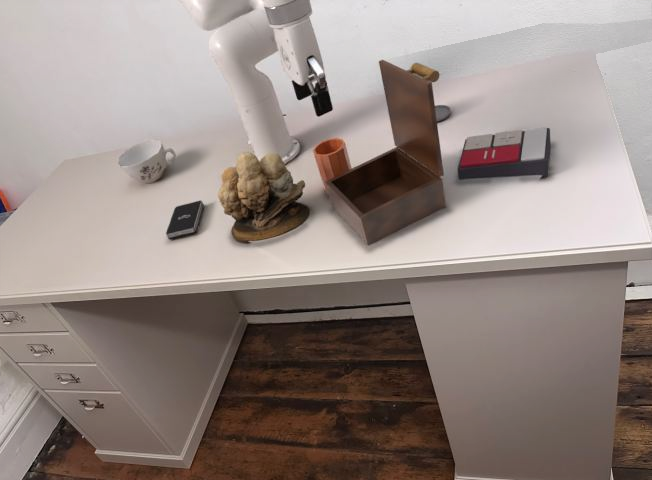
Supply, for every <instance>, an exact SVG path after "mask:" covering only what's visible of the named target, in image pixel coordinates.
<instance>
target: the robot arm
mask: <svg viewBox="0 0 652 480" xmlns="http://www.w3.org/2000/svg"><path fill="white" fill-rule="evenodd" d="M179 1H180V3H181V5H182V6H183V7H184V9H185V10H186V11H187V13H188V15H189V16H190V18H192V20H193V21H194V23H195V24H196V25H197V26H198V27H199V28H200V29H202V30H203V31H207V32H209V31H214V30H215V32H213V33H212V35H211V36H210V39H209V41H208V42H209V43H208V50H209V53H210V55H211V58H212V60H213V62H214V63H215V65H216V67H217V69H218V70H219V72H220V74H221V76H222V78H223V79H224V81H225V83H226V85H227V88H228V90H229V92H230V95H231V98H232V100H233V102H234V104H235V108H236V110H237V112H238V114H239V118H240V120H241V122H242V125H243V127H244V130H245V133H246V136H247V137H248V140H247V145H248V146H251V148H252V151H253V153H252V154H255V156H256V157H257V158H258V160H259V162H260V160H261V159H262V158H263V157H264V156H265V155H266V154H268V153H277V154H279V156H280V157H281V158H282V161H283V162H284V165H287V163H289V162H291V161H292V160H293V159H294V158H296V156H297V155H298V154H299V153H300V151H301V144H300V142H299V141H298V139H295V138H292V137H291V135H290V132H289V130H288V126H287V123H286V120H285V117H284V115H283V111H282V109H281V105H280V102H279V99H278V96H277V94H276V90H275V87H274V85H273V82H272V80H271V78H270V77H269V76H268V75H267V74H266V73H264V72H263V71H260V70H259V69H258V68H256V65H257V64H259V63H260V62H261V61H263V60H265V59H267V58H268V57H270V56H272V55H274V54H276V53H277V52H278V55H279V59H280V63H281V66H282V70H283V72H284V74H285V76H287V77H288V78H289V79H291V83H292V87H293V89H294V90H293V91H294V94H295V97H296V99H297V101H302V100H303V99H306V98H308V97H310V99H311V101H312V106H313V109H314V113H315V116H316V117H319V118H320V117H321V116H324V115H326V114H328V113H330V112H332V111H333V110H334V107H333V103H332V99H331V96H330V92H329V86H328V82H327V78H326V77H327V76H326V72H325V66H324V62H323V61H324V60H323V56H322V54H321V50H320V46H319V42H318V40H317V39H318V38H317V37H316V33H315V29H314V27H313V24H312V22H311V18H310V17H311V16H312V14H313V9H312V4H311V0H179ZM216 29H217V30H216ZM314 82H315V84H314Z"/></svg>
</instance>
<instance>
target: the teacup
mask: <svg viewBox="0 0 652 480" xmlns="http://www.w3.org/2000/svg"><path fill="white" fill-rule="evenodd" d="M167 153H170V154H172V158H171V159H170V160H169V161H168V162H167ZM175 160H176V153H175V150H174V149H173V148H172V147H166V148H164V145H163V143H162V142H161V141H159V140H158V139H148V140H144V141H141V142H138V143H137V144H135V145H133V146H132V147H130V148H128V149H126V150H125V151H124V152H123V153H122V154H120V156H119V157H118V160H117V161H118V162H117V163H118V166H119V167H120V168H121V170H122V171H123V172H124V173H126V175H128V176H129V177H130V178H132V179H134V180H135V181H138V182H141V183H144V184H152V183H154V182H156V181H158V180H159V179H161V178H162V176H163V174H164V172H165V169H166V168H167V167H169V166H170V165H171V164H174V162H175Z"/></svg>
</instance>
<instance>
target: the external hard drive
mask: <svg viewBox="0 0 652 480" xmlns="http://www.w3.org/2000/svg"><path fill="white" fill-rule="evenodd" d="M204 208H205V204H204V202H203V201H202V200H201V199H199V200H196V201H192V202H188V203H184V204H180V205H176V206H175V207H174V208H173V210H172V211H173V212H172V214H171V217H170V220H169V223H168V225H167V229H166V231H165V235H166V237H167V239H168V240H170V241H172V240H176V239H182V238H185V237H190V236H194V235H197V233H198V230H199V227H200V223H201V220H202V216H203V212H204Z"/></svg>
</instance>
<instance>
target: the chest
mask: <svg viewBox="0 0 652 480" xmlns="http://www.w3.org/2000/svg"><path fill="white" fill-rule="evenodd" d="M351 168H352V169H350V170H348V171H346V172H344V173H342V174H340V175H338V176H336V177H334V178H331V179H329V180H327V181H325V184H326V187H327V191H328V193H327V194H328V198H329V200H330V203H331V206H332V208H333V209H334V211H335V212H336V213H337V214H338V215H339V216H340V217H341V218H342V219H343V220H344V222H346V224H347V225H348V226H349V227H350V228H351V229H352V230H353V231H354V233H356V235H357V236H358V237H359V238H360V239H361V240H362V241H363V242H364V243H365V244H366V245H367V246H371V245H373V244H375V243H377V242H379V241H381V240H383V239H385V238H387V237H388V236H392V234H394V233H397V232H399V231H401V230H403V229H405V228H407V227H410V226H411V225H413V224H415V223H417V222H419V221H421V220H423V219H425V218H428V217H429V216H431V215H433V214H435V213H437V212H439V211H441V210H443V209H445V208H446V207H447V204H446V203H447V202H446V198H445V189H444V181H443V178H442V176H441V177H439V176H438V175H436V174H435V173H434V172H432V171H431V170H429V169H428V168H426V167H425V166H424V165H422V164H421V163H419V162H418V161H416V160H415V159H414V158H412V157H411V156H409V155H408V154H406V153H405V152H404V151H402V150H401V149H399V148H398V147H396V146H395V147H394V148H391V149H389V150H387V151H385V152H383V153H381V154H379V155H377V156H375V157H373V158H371V159H369V160H367V161H365V162H362V163H361V164H358V165H357V166H356V165H355V166H353V167H351Z"/></svg>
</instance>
